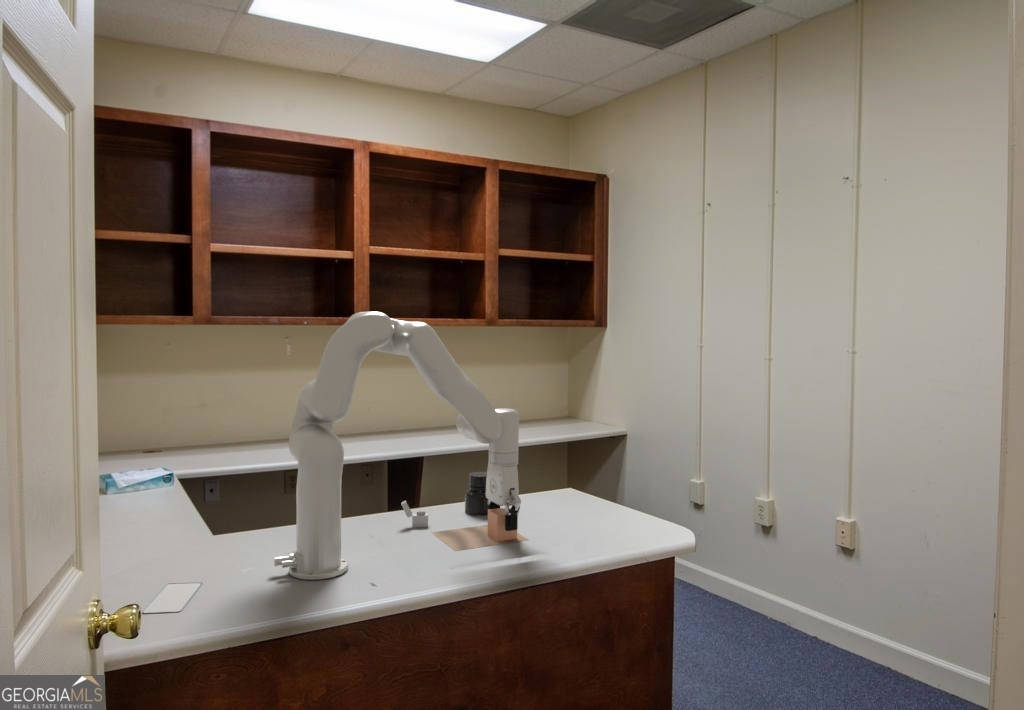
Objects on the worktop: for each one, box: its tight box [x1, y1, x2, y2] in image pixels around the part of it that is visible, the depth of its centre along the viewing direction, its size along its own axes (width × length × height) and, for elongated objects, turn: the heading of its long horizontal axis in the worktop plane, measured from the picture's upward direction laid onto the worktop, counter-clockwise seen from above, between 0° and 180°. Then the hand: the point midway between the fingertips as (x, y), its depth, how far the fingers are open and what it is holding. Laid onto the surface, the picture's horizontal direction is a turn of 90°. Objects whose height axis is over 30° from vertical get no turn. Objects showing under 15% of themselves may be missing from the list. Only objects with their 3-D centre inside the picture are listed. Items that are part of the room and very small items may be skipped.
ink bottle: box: [464, 471, 488, 517], centre depth 199 cm, size 10×9×12 cm
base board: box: [430, 524, 529, 552], centre depth 176 cm, size 20×16×1 cm
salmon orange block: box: [487, 507, 518, 541], centre depth 176 cm, size 6×6×7 cm
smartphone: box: [141, 581, 203, 615], centre depth 138 cm, size 7×1×15 cm
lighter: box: [400, 500, 429, 528], centre depth 184 cm, size 7×2×8 cm, turn 98°
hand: (502, 524), depth 176 cm, fingers open, 9 cm apart
